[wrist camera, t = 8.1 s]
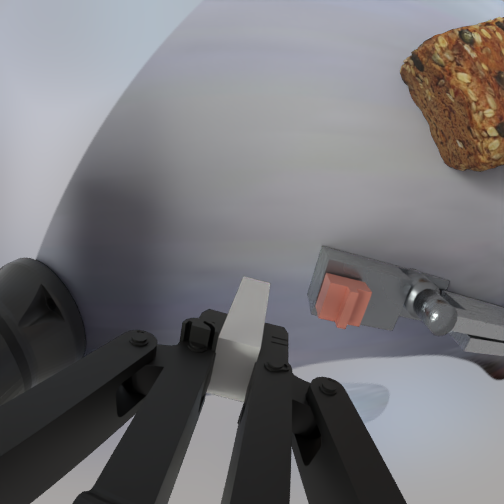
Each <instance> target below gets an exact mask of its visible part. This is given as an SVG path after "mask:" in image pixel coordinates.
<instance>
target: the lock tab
mask: <svg viewBox="0 0 504 504" xmlns="http://www.w3.org/2000/svg"><path fill="white" fill-rule="evenodd" d="M371 295H372V291H371V290H370V289H369V287H368V286H367V284H366V283H365V282H362V281H358V280H354V279H350V278H346V277H342V276H338V275H334V274H330V273H326V275H325V278H324V281H323V284H322V288H321V291H320V294H319V297H318V300H317V303H316V310H317V314H318V318H320V319H325V320H329V321H334V322H335V323H336V326H337V327H338V328H343V329H346V326H347V324H348V325H353V326H358V327H359V326H360V323H361V321H362V318H363V316H364V313H365V310H366V308H367V305H368V303H369V300H370V297H371Z"/></svg>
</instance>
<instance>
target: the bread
mask: <svg viewBox="0 0 504 504" xmlns="http://www.w3.org/2000/svg"><path fill="white" fill-rule="evenodd" d="M411 53H412V56H410V57H408V58H406V59H405V60H404V61H403V62H404V65H402V66H401V70H400V74H401V77H402V80H403V81H404V83H405V84H406V85H408V86H409V91H410V94H411V97H412V99H413V100H414V102H415V103H416V105H417V106H418V107H419V108H420V109H421V111H422V113H423V115H424V117H425V118H426V120H427V122H428V124H429V125H430V131H431V135H432V137H433V139H434V141H435V143H436V145H437V147H438V149H439V152H440V155H441V157H442V158H443V160H444V163H445V164H447V165H448V166H449V167H453V168H454V169H457V170H461V171H465V170H466V169H470V170H473V171H479V172H481V171H484V170H488V169H492V168H496V167H497V166H500V165H504V17H503V18H501V17H498V18H496V19H493V20H489V21H486V22H483V23H478V24H477V25H473V26H466V27H461V28H457V29H452V30H450V31H447V32H445V33H443V34H438V35H435V36H433V37H432V38H430V39H428V40H426V41H424V42H423V44H421V45H420V46H419V47H418V49H416V50H414V51H413V52H411Z"/></svg>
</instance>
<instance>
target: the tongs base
mask: <svg viewBox="0 0 504 504" xmlns="http://www.w3.org/2000/svg"><path fill="white" fill-rule="evenodd" d="M326 273H330V274H334V275H338V276H342V277H346V278H350V279H354V280H358V281H362V282H365V283H366V284H367V286H368V287H369V289H370V290H371V291H372V295H371V297H370V300H369V303H368V305H367V308H366V310H365V313H364V316H363V318H362V321H361V323H360V325H364V326H369V327H374V328H379V329H385V330H390V331H393V328H394V326H395V324H396V321H397V319H398V317H399V316H401V317H406V318H410V319H415V320H420V321H422V320H421V319H420V318H419V317H418V316H417V314H416V313H415V312H414V309H413V302H414V299H415V297H416V296H417V295H418V293H420V292H421V291H422V290H424V289H433V290H435V291H436V292H437V293H438V294H439V295H440V296H441V294H442V291H443V290H444V291H446V290H447V287H448V285H449V282H450V281H448V280H445V279H442V278H438V277H435V276H431V275H428V274H424V273H421V272H419V271H418V270H416V269H406V268H403V267H399V266H396V265H392V264H388V263H385V262H381V261H377V260H374V259H370V258H366V257H362V256H359V255H355V254H351V253H347V252H344V251H340V250H336V249H332V248H328V247H324V246H322V247H321V251H320V254H319V258H318V261H317V264H316V268H315V271H314V274H313V277H312V281H311V284H310V287H309V290H308V294H307V295H308V300H309V305H310V310H311V314H313V315H317V316H318V314H317V310H316V303H317V300H318V297H319V294H320V291H321V288H322V284H323V281H324V278H325V275H326ZM448 334H449V335H450V336H451V337H452V338H453V339H454V340H455V341H456V343H457V344H458V345H459V346H460V347H461V348H462V349H463V351H466V352H473V353H481V354H490V355H498V356H504V341H503V340H497V339H491V338H486V337H480V336H475V335H470V334H465V333H459V332H454V331H450V332H449V333H448Z"/></svg>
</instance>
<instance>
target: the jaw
mask: <svg viewBox="0 0 504 504" xmlns="http://www.w3.org/2000/svg"><path fill="white" fill-rule="evenodd" d="M413 309H414V312H415V313H416V314H417V316H418V317H419V318H420V319H421V320H422V321H423V323H424V324H425V325H426V326H427V327H428V329H429V330H430V331H431V332H432V333H433V334H434V335H435V336H443V335H446V334H447V333H449V332H450V331H454V332H459V333H465V334H470V335H475V336H480V337H486V338H491V339H497V340H503V341H504V307H500V306H497V305H493V304H490V303H486V302H483V301H479V300H476V299H472V298H469V297H465V296H462V295H458V294H455V293H451V292H447V291H444V290H443V291H442V294H441V296H440V295H439V294H438V293H437V292H436V291H435V290H433V289H424V290H422V291H421V292H420V293H418V295H417V296H416V297H415V299H414V302H413Z"/></svg>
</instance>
